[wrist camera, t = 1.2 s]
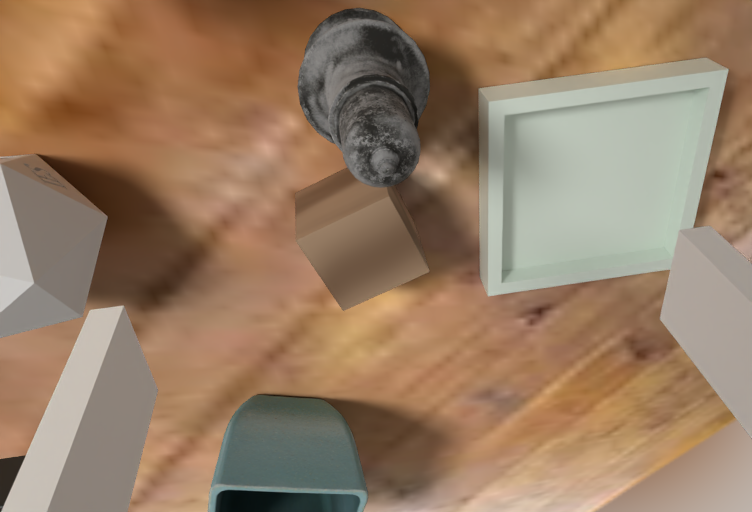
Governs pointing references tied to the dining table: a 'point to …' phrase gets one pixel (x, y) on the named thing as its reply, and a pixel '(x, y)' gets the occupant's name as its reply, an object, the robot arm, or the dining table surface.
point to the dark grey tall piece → (366, 93)
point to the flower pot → (288, 459)
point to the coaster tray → (592, 172)
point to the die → (44, 245)
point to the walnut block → (357, 237)
